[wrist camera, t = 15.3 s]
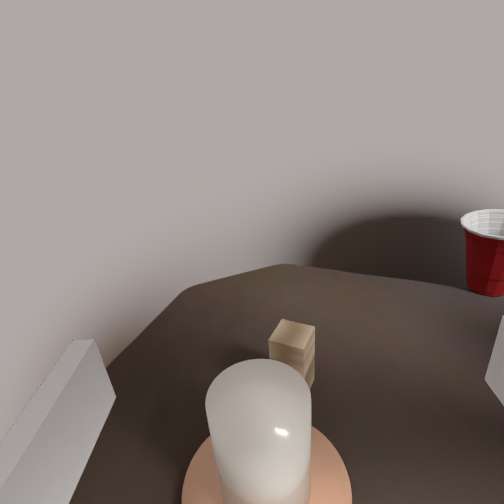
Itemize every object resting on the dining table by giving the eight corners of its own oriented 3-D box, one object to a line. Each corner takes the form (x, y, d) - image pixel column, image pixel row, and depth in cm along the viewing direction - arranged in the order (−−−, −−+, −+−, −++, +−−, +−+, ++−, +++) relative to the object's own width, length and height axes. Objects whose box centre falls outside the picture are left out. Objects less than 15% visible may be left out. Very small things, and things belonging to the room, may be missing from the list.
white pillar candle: (329, 482, 31) (332, 393, 27) (266, 561, 27) (257, 470, 22) (264, 427, 37) (258, 345, 32) (203, 485, 32) (184, 399, 27)
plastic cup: (434, 276, 62) (445, 212, 57) (489, 267, 64) (505, 204, 59) (480, 311, 53) (499, 238, 48) (543, 300, 54) (569, 228, 49)
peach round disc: (384, 487, 32) (385, 480, 31) (269, 662, 23) (268, 656, 22) (264, 395, 42) (264, 389, 41) (151, 492, 33) (149, 486, 32)
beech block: (314, 378, 44) (314, 326, 40) (304, 403, 40) (303, 349, 37) (284, 369, 45) (282, 319, 42) (271, 392, 42) (268, 340, 39)
